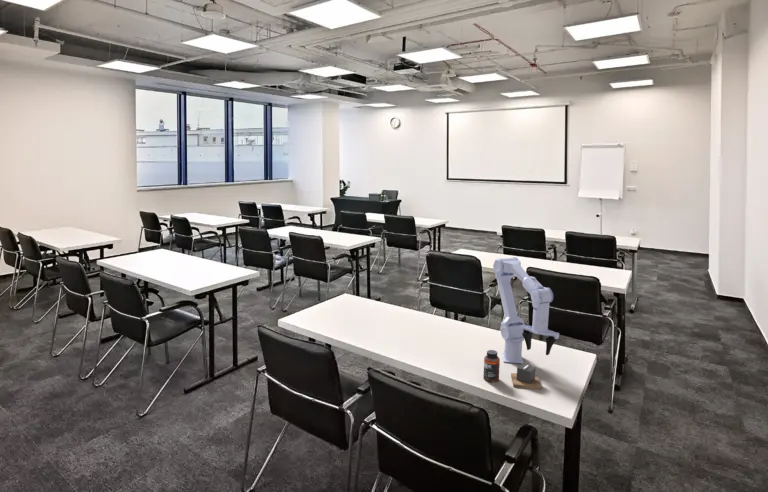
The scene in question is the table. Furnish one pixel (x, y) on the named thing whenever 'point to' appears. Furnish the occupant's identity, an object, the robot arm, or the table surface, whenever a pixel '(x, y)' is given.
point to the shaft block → (533, 385)
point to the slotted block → (526, 373)
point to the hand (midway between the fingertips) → (538, 351)
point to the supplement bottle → (491, 366)
